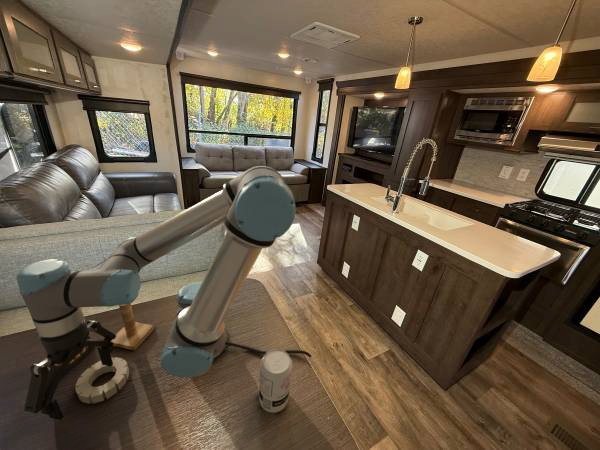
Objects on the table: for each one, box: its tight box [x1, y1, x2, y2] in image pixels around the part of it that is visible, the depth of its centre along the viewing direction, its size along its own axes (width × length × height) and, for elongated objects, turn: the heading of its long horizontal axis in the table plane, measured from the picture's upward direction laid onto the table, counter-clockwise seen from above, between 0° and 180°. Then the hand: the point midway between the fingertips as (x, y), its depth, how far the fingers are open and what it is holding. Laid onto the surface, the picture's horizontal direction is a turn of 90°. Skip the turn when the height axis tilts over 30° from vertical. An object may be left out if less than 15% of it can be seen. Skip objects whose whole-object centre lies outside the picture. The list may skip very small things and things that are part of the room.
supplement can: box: [258, 348, 293, 414], centre depth 65 cm, size 8×8×15 cm
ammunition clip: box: [43, 335, 95, 376], centre depth 70 cm, size 11×2×12 cm, turn 169°
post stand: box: [111, 303, 155, 351], centre depth 80 cm, size 9×9×14 cm
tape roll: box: [74, 356, 130, 405], centre depth 68 cm, size 11×11×3 cm
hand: (84, 388), depth 63 cm, fingers open, 13 cm apart
